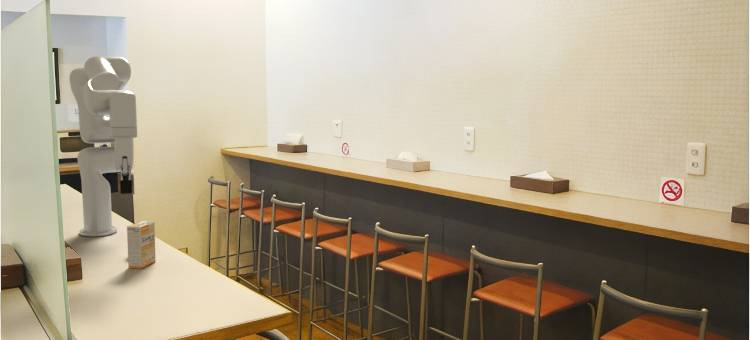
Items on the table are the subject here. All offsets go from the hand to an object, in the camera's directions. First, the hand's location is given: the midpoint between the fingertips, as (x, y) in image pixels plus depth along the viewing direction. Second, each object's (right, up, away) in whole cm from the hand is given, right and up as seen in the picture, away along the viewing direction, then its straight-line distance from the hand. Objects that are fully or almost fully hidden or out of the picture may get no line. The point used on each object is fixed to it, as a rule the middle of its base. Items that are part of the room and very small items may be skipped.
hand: (126, 191), depth 196 cm
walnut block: (0, -1, 0) cm, 1 cm away
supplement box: (+4, -23, +2) cm, 24 cm away
